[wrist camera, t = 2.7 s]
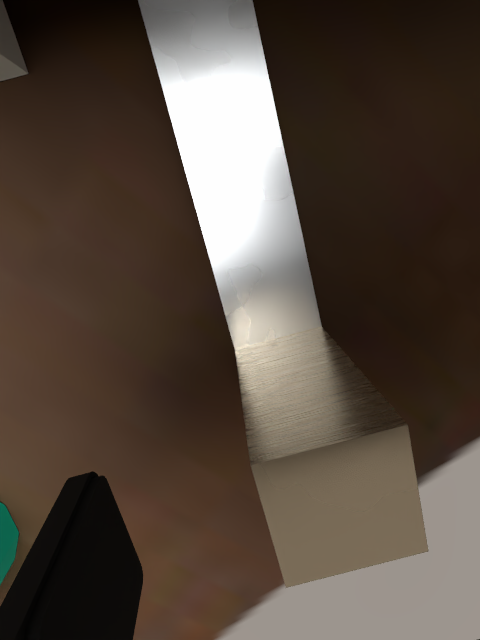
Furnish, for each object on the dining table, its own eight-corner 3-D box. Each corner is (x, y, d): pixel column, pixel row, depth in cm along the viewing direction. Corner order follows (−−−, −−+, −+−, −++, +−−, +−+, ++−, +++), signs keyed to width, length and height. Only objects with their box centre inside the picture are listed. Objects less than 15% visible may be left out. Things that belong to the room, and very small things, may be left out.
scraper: (360, 356, 18) (524, 527, 9) (203, 397, 18) (191, 611, 9) (255, -200, 13) (368, -1338, 3) (37, -139, 13) (-449, -1084, 4)
